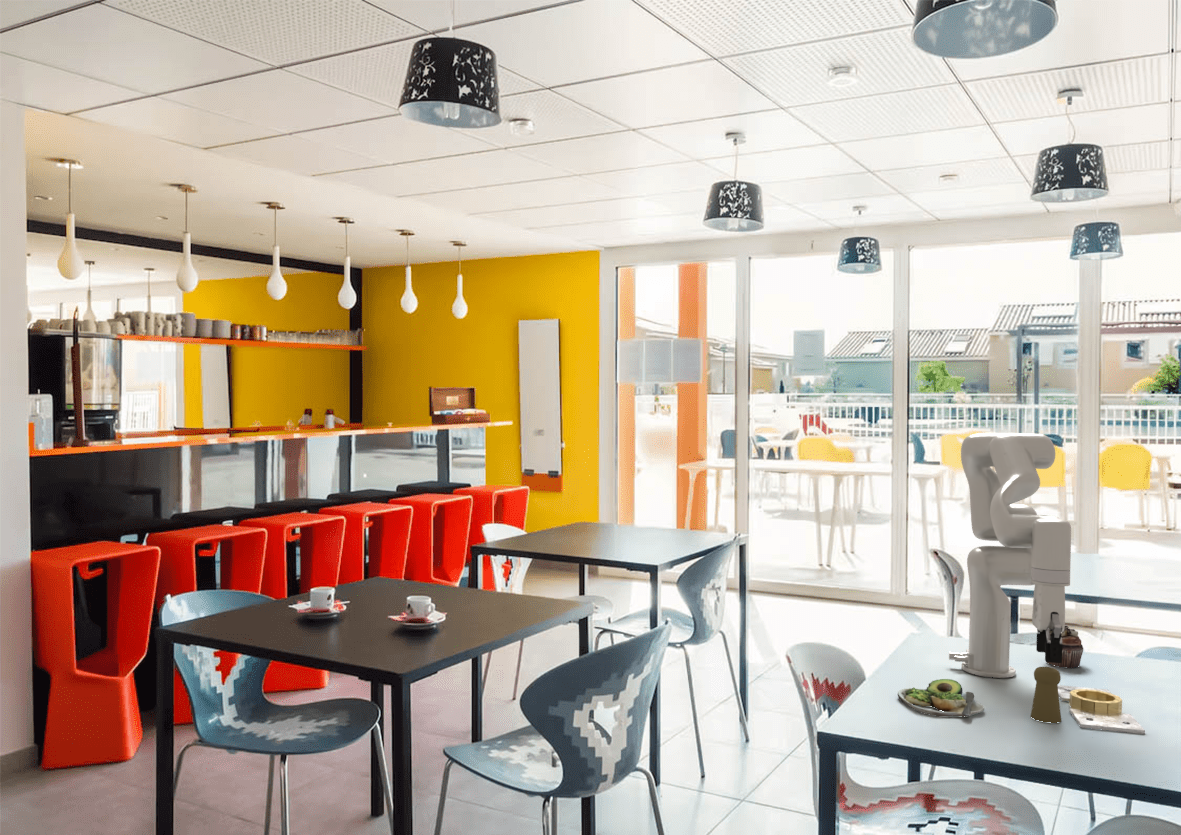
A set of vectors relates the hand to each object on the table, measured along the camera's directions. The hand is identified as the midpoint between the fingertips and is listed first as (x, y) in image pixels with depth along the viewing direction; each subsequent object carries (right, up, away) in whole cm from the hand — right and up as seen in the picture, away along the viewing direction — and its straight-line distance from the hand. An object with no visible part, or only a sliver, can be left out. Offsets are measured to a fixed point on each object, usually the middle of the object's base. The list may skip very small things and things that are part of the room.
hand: (1048, 657), depth 206 cm
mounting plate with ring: (+14, -14, +8) cm, 21 cm away
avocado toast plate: (-20, -13, +9) cm, 26 cm away
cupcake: (+26, -14, +47) cm, 55 cm away
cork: (0, -14, +1) cm, 14 cm away
